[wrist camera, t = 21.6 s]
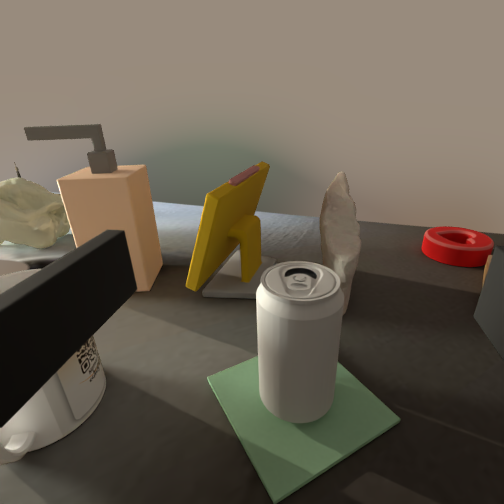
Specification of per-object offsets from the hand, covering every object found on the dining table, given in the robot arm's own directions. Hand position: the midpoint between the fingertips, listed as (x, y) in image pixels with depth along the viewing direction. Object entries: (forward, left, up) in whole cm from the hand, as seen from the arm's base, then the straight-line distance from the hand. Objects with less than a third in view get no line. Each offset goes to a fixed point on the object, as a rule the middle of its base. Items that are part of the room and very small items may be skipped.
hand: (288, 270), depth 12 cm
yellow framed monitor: (+29, -12, -18) cm, 37 cm away
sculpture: (+19, -21, -18) cm, 34 cm away
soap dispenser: (+39, +5, -18) cm, 44 cm away
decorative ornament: (+18, -46, -18) cm, 52 cm away
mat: (+7, -6, -18) cm, 21 cm away
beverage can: (+7, -6, -18) cm, 20 cm away
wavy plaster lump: (+64, +17, -18) cm, 69 cm away
